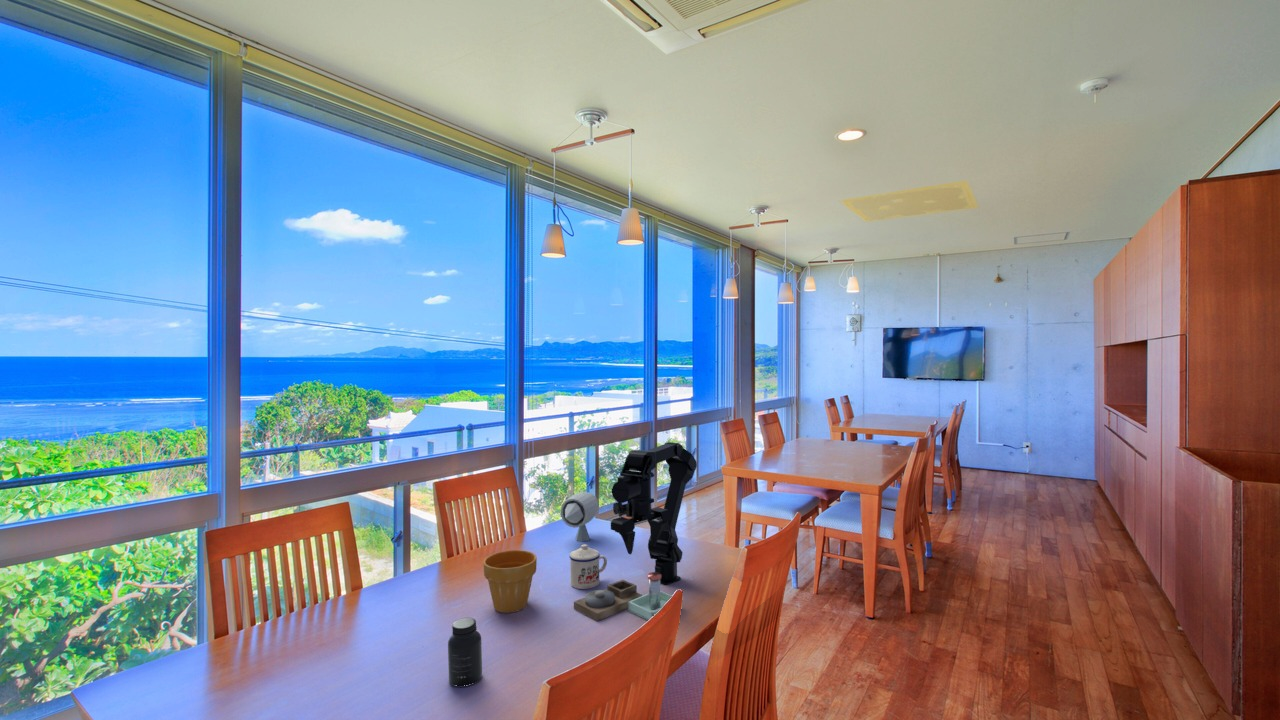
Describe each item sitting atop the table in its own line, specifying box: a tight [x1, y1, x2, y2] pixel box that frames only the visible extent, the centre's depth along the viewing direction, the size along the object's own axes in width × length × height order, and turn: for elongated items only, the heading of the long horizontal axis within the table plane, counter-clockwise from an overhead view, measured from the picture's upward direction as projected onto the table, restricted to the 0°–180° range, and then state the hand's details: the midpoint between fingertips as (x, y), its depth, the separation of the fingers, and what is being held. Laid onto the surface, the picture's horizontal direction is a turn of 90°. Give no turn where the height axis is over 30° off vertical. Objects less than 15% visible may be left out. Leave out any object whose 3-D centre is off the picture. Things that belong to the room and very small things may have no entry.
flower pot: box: [483, 549, 537, 614], centre depth 152 cm, size 14×14×13 cm
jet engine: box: [560, 491, 600, 543], centre depth 205 cm, size 15×20×18 cm
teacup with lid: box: [569, 543, 608, 590], centre depth 167 cm, size 12×9×12 cm
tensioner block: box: [573, 579, 643, 622], centre depth 151 cm, size 16×10×4 cm, turn 134°
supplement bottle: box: [447, 617, 483, 687], centre depth 117 cm, size 7×7×12 cm
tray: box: [627, 590, 673, 621], centre depth 148 cm, size 11×9×2 cm
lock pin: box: [647, 571, 661, 610], centre depth 148 cm, size 4×4×9 cm
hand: (641, 549), depth 157 cm, fingers open, 9 cm apart
